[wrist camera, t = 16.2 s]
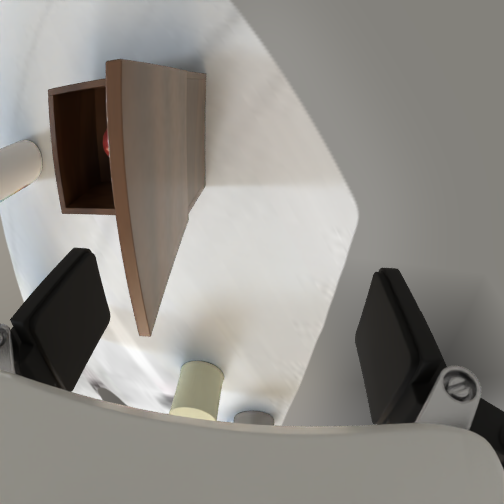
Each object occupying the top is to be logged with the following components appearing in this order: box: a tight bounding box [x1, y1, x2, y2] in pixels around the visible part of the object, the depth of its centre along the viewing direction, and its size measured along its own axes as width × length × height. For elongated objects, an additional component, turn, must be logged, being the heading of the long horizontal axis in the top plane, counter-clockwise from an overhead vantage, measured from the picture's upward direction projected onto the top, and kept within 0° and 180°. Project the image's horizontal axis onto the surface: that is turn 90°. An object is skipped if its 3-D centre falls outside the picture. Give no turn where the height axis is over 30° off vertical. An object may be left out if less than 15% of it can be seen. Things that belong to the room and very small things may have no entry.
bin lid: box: [106, 59, 189, 337], centre depth 22 cm, size 17×16×1 cm
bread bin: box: [48, 71, 206, 215], centre depth 35 cm, size 17×16×11 cm
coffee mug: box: [234, 411, 274, 426], centre depth 68 cm, size 13×10×10 cm
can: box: [169, 361, 224, 421], centre depth 58 cm, size 9×9×12 cm
